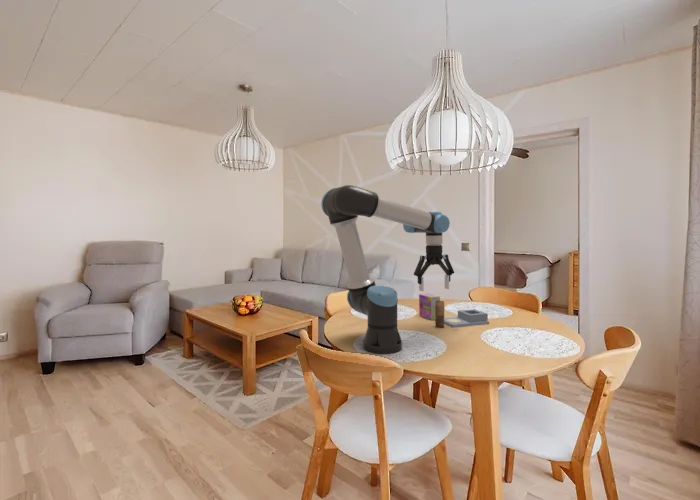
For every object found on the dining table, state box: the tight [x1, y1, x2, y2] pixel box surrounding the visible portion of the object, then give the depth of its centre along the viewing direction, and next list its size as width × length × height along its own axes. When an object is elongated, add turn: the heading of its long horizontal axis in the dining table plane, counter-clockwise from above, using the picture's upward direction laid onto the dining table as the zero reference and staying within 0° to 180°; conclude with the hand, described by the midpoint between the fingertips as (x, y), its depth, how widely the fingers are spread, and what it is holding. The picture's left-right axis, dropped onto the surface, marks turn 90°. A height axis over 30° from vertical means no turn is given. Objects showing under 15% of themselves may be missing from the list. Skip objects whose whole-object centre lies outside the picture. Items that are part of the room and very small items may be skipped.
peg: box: [434, 300, 445, 329], centre depth 164 cm, size 4×4×12 cm
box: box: [418, 292, 441, 321], centre depth 181 cm, size 10×6×12 cm, turn 25°
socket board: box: [444, 309, 490, 328], centre depth 171 cm, size 12×20×5 cm, turn 106°
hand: (434, 289), depth 164 cm, fingers open, 13 cm apart
